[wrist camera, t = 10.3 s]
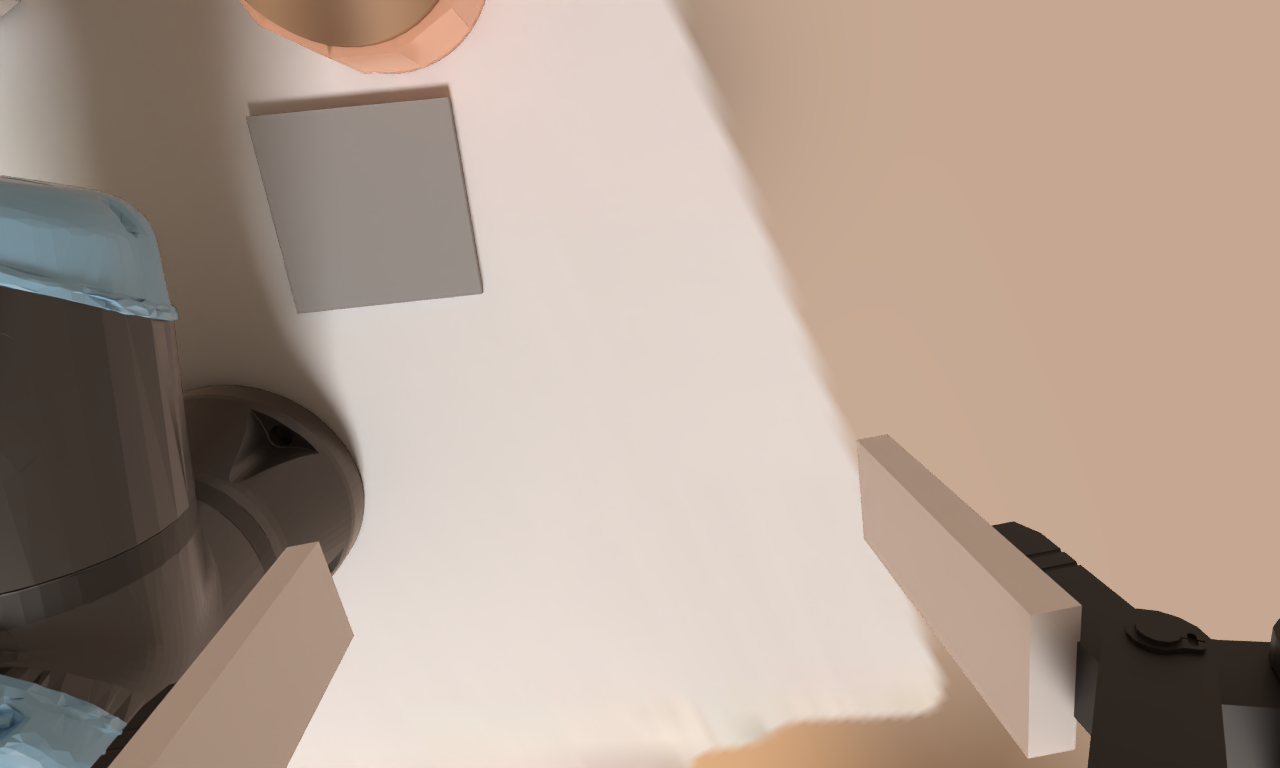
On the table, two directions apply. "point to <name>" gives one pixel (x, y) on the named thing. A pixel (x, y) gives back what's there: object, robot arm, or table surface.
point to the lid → (345, 19)
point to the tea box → (7, 6)
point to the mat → (368, 203)
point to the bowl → (398, 40)
